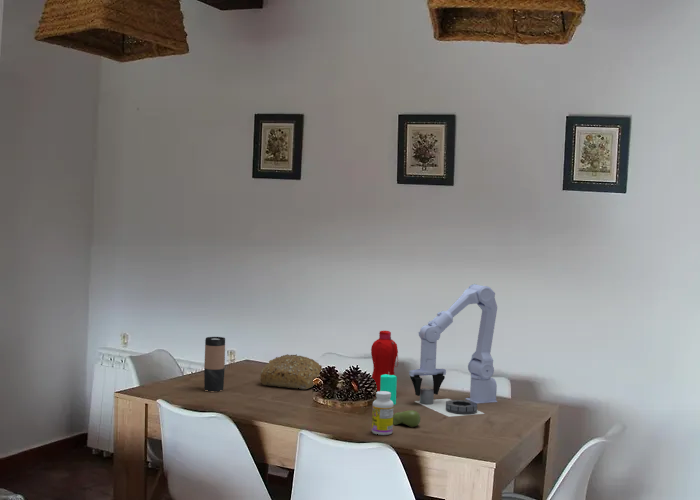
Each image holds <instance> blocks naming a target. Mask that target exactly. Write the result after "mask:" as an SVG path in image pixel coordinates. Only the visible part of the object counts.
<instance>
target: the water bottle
mask: <svg viewBox="0 0 700 500" xmlns="http://www.w3.org/2000/svg"><path fill="white" fill-rule="evenodd" d="M378 334H379V337H378V339H376V340H375V341H373V342H372V345H371V349H370V351H371V352H370V354H371V359H372V364H373V365H372V366H373V367H372V368H373V371H372V375H371V378H373V379H374V380H375V382H376V385H377V392H378V391H380V381H381V375H384V374H387V375H395V376H396V374H395V368H397V367H398V365H399V363H397V365H396V361H397V360H399V355H398V354H399V351H398V345H397V343H396V342H395V340H393V339H392V332H391V331H390V330H379V333H378ZM397 392H398V391H397V389H396V394H397Z"/></svg>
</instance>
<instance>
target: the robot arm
mask: <svg viewBox="0 0 700 500" xmlns="http://www.w3.org/2000/svg"><path fill="white" fill-rule="evenodd" d="M474 304H477V306H478V307H479V309H480V310H481V314H480V315H481V316H480V323H479V328H478V329H479V330H478V335H477V342H476V348H475V351H474V352H473V353H472V354H471V358H470V360H469V362H468V363H467V364H468V365H467V370H468V372H469V373H470V387H469V388H470V389H469V390H470V391H469V397H466V398H464V400H466V401H472V402H475V403H477V404H488V403H498V400H497V389H498V388H497V386H498V385H497V381H496V379H495V378H494V377H492V376H493V375H494V373H495V367H494V358H493V356H492V355H491V350H492V346H493V344H492V343H493V338H494V332H495V331H494V330H495V326H496V325H495V324H496V319H497V311H498V305H497V302H496V292H495V291H494V290H493V288H492V287H490V286H488V285H480V284H477V283H476V284H475V283H474V284H470V285H469V286H468V288H465V289H464V291H463V293H462V294H461V295H460V296H459V297H458V299H456V301H455V302H454V303H453V304H452V305H451V306H450V307H449V308H448V309H447V310H442V311H438V312H437V313H436V316H435V317H434V318H433V319H432V320H429V321H428V322H427V324H425V325H423V326H422V327H420V330H419V331H418V336H419V338H420V341H421V342H420V358H419V360H420V361H419V362H420V364H419V368H417V369H412V370H408V376H409V378H410V380H411V383H412V385H413V388H414V393H415V396H417V397H420V389H422V388H421V386H422V382H423V378H422V377H421V376H423V377H424V376H432V385H433V387H432V389H433V390H434V395H435V396H439V395H438V394H439V391H440V388H441V387H442V386H441V385H442V383H443V382H444V380H445V379H446V377H445V376H446V375H447V374H446V373H447V369H445V368H437V367H436V365H437V342H438V341H439V340H440V338H441V334H442V333H443V332H444V331H445V330H447V328H448V327H450V326H451V325H452V323H453V322H454V318H455V317H456V316H458V314H459V313H461V312H462V311H463V310H464V309H465V308H467V306H469V305H474Z"/></svg>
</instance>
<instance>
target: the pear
mask: <svg viewBox="0 0 700 500" xmlns="http://www.w3.org/2000/svg"><path fill="white" fill-rule="evenodd" d="M420 423H421V415H420V413H419V411H416V410H413V409H412V410H411V409H410V410H404V411H399V412H398V411H397V412H395V413H393V426H397V425H400V424H404V425H405V426H408V427H410V428H414V427H418V426H419V425H420Z"/></svg>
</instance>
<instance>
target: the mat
mask: <svg viewBox="0 0 700 500" xmlns="http://www.w3.org/2000/svg"><path fill="white" fill-rule="evenodd" d="M449 400H452V399H450V398H441V399H439V398H438V399H437V398H436V399H434V400H433V404H431V405H425V404H421V403H420V400H414V402H415V403H417V404H419V405H421V406H423V407H426V408H428V409H430V410H432V411H435V412H436V413H439V414H441V415H444V416H446V417H449V418H450V417H463V416H465V415H462V414H454V413H450V412H447V411H446V402H447V401H449ZM484 414H486V413H484V412H483V411H480V410H478V409H477V413H475V414H469V415H468V416H473V415H484Z"/></svg>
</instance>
